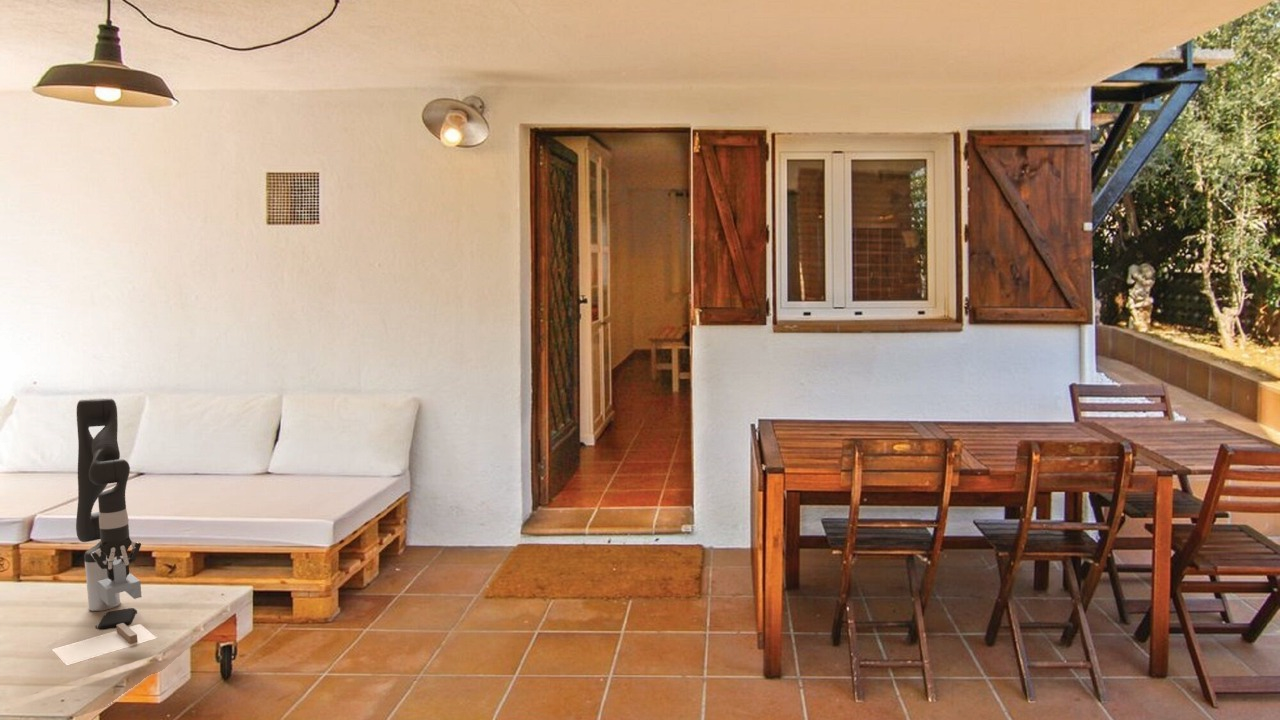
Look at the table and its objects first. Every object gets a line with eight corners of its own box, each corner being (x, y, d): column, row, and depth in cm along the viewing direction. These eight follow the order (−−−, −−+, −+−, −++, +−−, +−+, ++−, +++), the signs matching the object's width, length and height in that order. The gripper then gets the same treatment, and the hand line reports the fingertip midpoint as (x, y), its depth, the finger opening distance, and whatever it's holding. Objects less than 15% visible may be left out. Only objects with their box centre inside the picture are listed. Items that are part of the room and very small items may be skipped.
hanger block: (99, 597, 260) (95, 562, 259) (131, 588, 266) (128, 554, 265) (108, 605, 253) (105, 570, 252) (141, 597, 259) (138, 562, 258)
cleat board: (52, 654, 254) (51, 641, 254) (140, 628, 272) (139, 616, 271) (66, 670, 243) (65, 657, 243) (157, 642, 261) (156, 630, 260)
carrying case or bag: (101, 619, 280) (92, 637, 266) (101, 610, 280) (91, 627, 266) (138, 614, 284) (131, 630, 271) (137, 605, 284) (130, 621, 270)
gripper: (135, 516, 265) (140, 569, 267) (84, 527, 254) (88, 581, 256) (143, 521, 259) (147, 575, 261) (90, 532, 249) (95, 587, 251)
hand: (118, 578), depth 259 cm, fingers closed on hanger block, 3 cm apart
